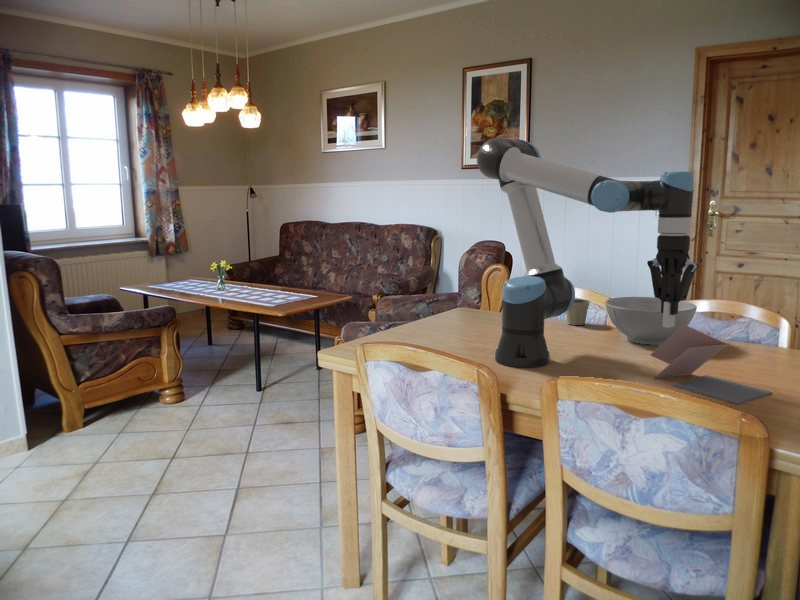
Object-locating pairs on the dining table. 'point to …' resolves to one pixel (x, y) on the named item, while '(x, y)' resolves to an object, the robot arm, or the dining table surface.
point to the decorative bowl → (646, 318)
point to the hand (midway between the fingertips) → (668, 326)
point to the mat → (722, 389)
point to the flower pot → (577, 312)
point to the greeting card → (686, 351)
